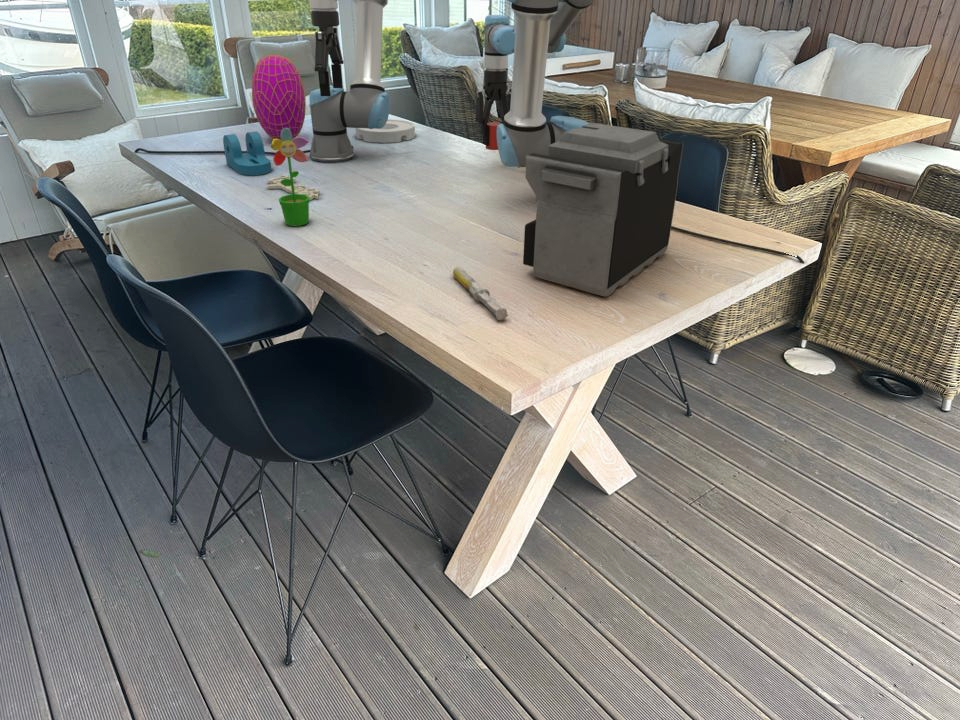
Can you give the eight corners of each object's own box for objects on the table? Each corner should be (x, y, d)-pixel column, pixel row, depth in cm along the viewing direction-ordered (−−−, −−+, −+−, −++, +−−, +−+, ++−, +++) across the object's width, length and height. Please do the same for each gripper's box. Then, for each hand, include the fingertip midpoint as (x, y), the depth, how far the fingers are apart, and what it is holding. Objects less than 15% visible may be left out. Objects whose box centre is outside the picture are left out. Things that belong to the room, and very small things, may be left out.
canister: (501, 146, 233) (502, 122, 229) (502, 150, 228) (503, 126, 224) (485, 146, 233) (485, 122, 229) (485, 150, 228) (486, 125, 224)
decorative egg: (293, 132, 276) (283, 50, 261) (319, 140, 264) (310, 56, 249) (249, 139, 265) (236, 54, 250) (273, 148, 253) (261, 60, 238)
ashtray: (362, 128, 283) (361, 118, 281) (418, 129, 282) (417, 119, 280) (351, 142, 263) (350, 131, 261) (411, 143, 262) (411, 132, 260)
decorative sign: (256, 179, 214) (285, 174, 220) (256, 182, 215) (285, 177, 220) (297, 199, 197) (327, 193, 203) (297, 203, 198) (328, 196, 203)
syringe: (449, 274, 155) (449, 263, 153) (465, 272, 156) (464, 260, 154) (490, 323, 135) (491, 310, 133) (508, 319, 136) (508, 307, 134)
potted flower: (284, 229, 179) (270, 130, 166) (277, 220, 185) (263, 124, 172) (319, 224, 183) (308, 127, 170) (311, 215, 188) (300, 121, 176)
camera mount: (227, 164, 233) (221, 132, 227) (257, 160, 238) (252, 129, 233) (244, 176, 220) (239, 143, 215) (276, 172, 225) (271, 139, 220)
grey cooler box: (592, 232, 179) (603, 112, 164) (672, 251, 168) (693, 125, 153) (515, 277, 153) (520, 140, 138) (603, 303, 142) (620, 157, 127)
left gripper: (325, 13, 178) (333, 99, 188) (348, 7, 199) (354, 85, 210) (297, 13, 178) (306, 99, 189) (323, 7, 199) (330, 84, 210)
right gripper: (514, 66, 225) (512, 138, 236) (464, 69, 217) (464, 144, 229) (527, 69, 219) (523, 143, 231) (475, 72, 211) (475, 149, 223)
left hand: (332, 92), depth 199 cm, fingers open, 13 cm apart
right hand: (494, 143), depth 230 cm, fingers closed on canister, 6 cm apart
